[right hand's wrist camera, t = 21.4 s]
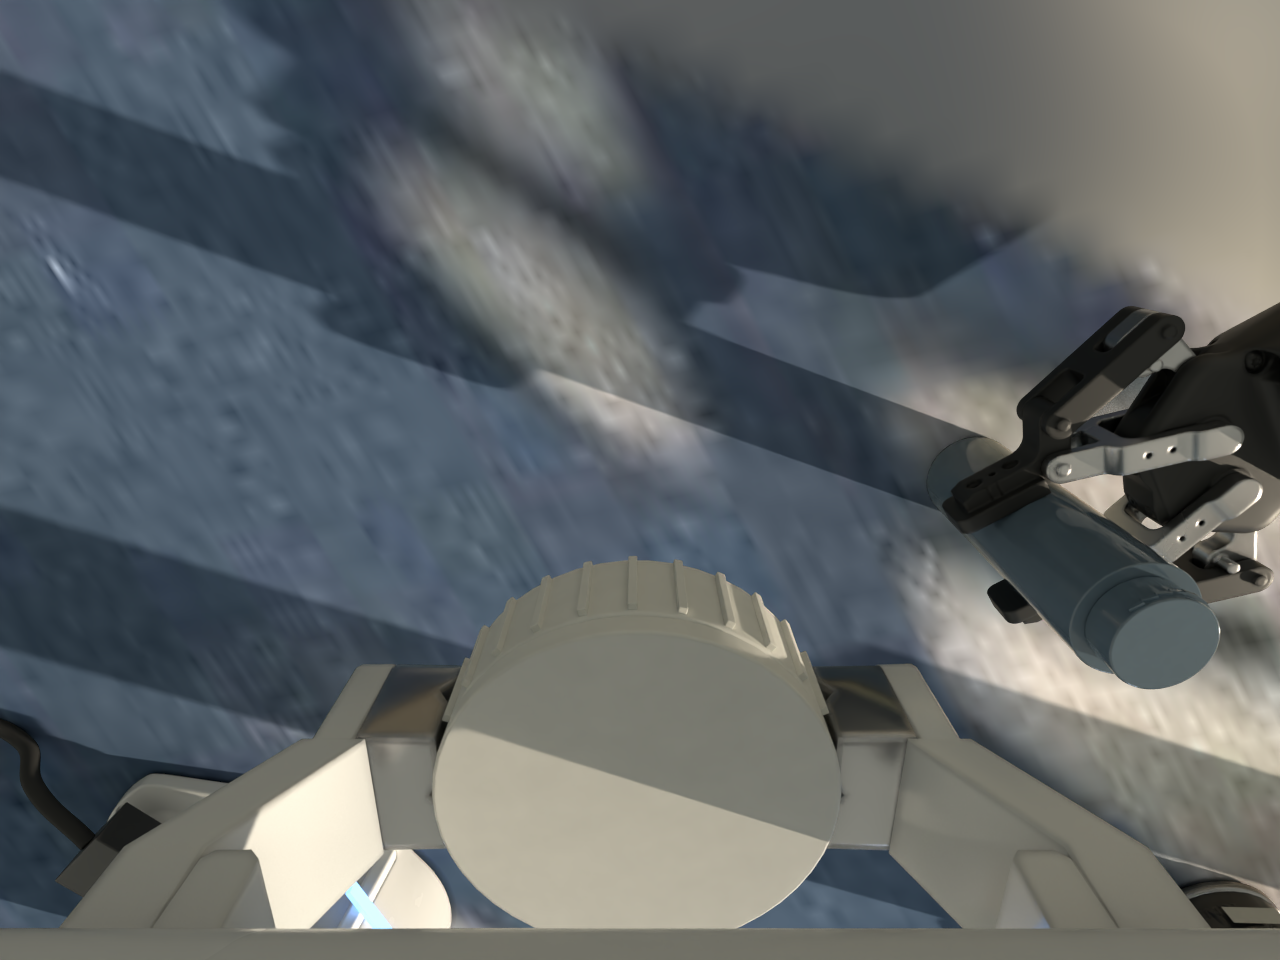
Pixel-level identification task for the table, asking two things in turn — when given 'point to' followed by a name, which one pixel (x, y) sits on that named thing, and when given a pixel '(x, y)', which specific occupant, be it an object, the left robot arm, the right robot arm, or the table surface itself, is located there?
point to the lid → (636, 754)
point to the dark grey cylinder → (1089, 579)
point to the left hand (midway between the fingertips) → (977, 564)
